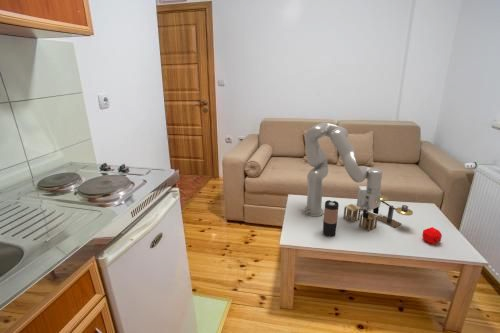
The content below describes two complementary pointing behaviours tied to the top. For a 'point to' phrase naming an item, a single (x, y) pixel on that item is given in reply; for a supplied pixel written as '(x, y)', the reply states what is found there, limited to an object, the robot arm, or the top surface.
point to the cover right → (370, 216)
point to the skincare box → (361, 196)
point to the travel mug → (330, 218)
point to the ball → (432, 235)
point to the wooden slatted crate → (350, 213)
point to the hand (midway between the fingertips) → (370, 215)
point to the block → (368, 223)
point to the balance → (389, 220)
